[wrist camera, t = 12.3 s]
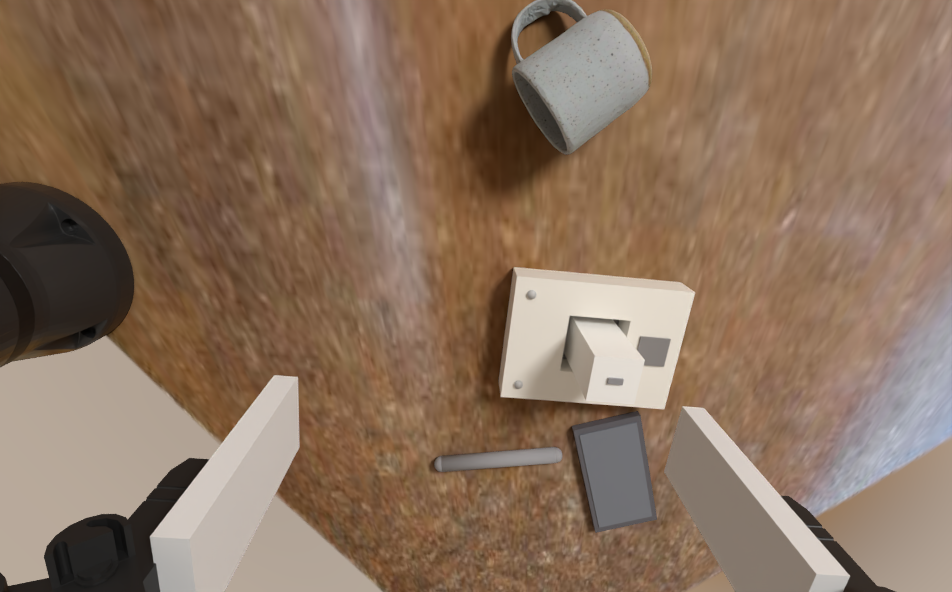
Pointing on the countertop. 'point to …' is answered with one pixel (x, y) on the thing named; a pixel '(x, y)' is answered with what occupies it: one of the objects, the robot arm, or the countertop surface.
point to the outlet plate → (598, 296)
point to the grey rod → (498, 459)
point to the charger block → (603, 360)
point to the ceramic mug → (580, 73)
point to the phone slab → (615, 471)
